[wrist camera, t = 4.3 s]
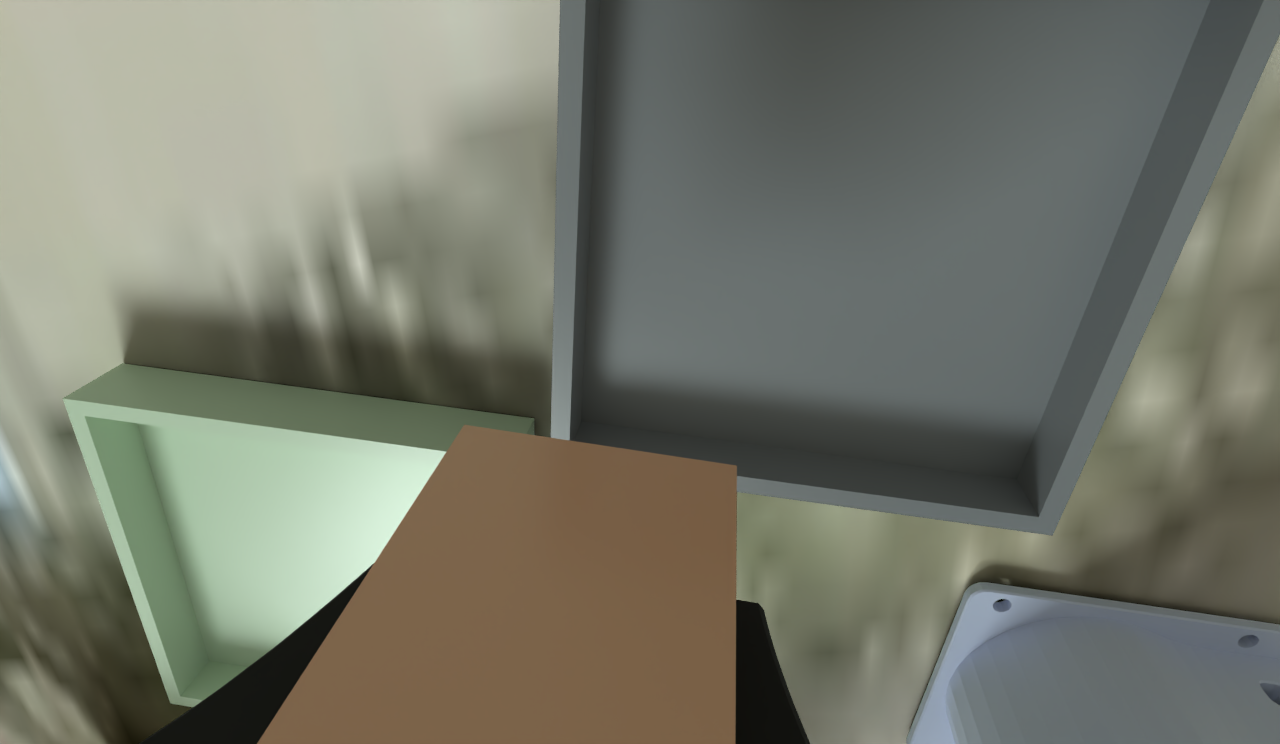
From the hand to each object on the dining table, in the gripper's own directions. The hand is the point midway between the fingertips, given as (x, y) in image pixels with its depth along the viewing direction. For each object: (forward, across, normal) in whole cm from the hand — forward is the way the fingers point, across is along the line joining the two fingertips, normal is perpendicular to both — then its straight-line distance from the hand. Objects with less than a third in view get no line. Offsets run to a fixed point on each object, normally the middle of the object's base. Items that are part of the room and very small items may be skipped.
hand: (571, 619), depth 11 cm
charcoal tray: (+9, -4, -4) cm, 11 cm away
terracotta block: (+2, 0, 0) cm, 2 cm away
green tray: (+9, +9, +9) cm, 16 cm away
